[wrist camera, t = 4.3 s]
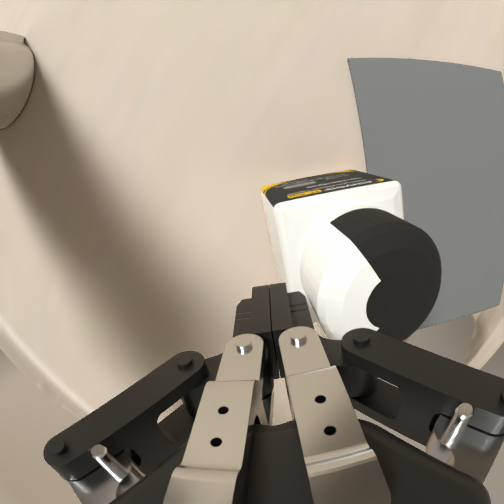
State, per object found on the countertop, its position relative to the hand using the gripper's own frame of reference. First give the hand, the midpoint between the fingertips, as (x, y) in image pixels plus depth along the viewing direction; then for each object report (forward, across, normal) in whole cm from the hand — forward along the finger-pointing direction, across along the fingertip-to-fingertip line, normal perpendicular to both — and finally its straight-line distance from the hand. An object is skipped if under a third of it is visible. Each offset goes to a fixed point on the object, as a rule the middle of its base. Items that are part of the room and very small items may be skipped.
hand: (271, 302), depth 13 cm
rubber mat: (+10, -16, 0) cm, 19 cm away
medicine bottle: (+10, -4, 0) cm, 11 cm away
